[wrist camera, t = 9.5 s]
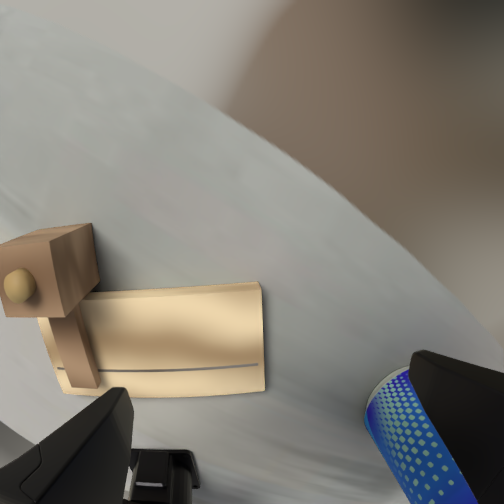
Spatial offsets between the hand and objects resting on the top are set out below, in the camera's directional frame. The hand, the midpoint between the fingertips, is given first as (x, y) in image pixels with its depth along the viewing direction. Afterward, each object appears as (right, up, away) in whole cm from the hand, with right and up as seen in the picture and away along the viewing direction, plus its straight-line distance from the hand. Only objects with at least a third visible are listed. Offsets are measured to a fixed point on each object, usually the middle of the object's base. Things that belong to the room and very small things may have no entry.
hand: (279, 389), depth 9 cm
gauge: (-13, 0, +11) cm, 17 cm away
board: (-8, -2, +13) cm, 15 cm away
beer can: (+13, -10, +17) cm, 24 cm away
